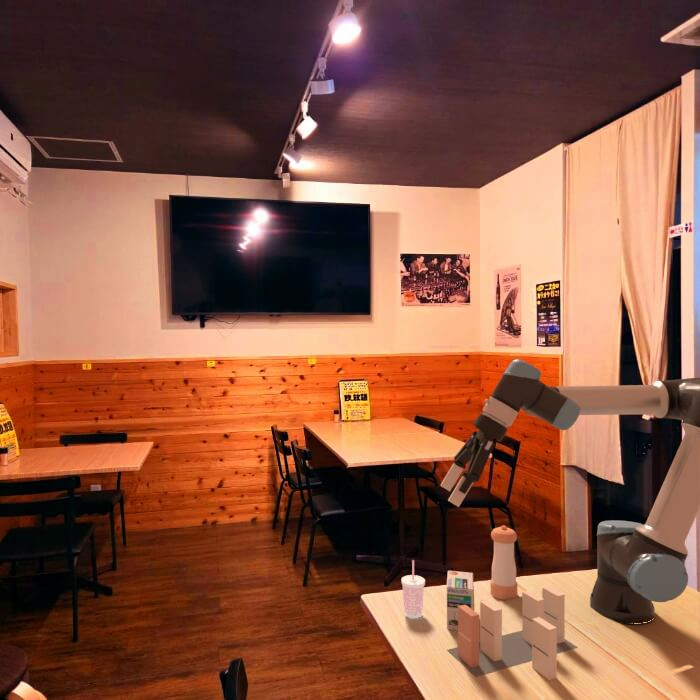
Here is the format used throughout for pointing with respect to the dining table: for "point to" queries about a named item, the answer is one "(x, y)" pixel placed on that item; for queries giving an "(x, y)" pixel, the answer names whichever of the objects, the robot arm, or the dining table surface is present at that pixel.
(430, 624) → the dining table surface
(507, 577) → the salt shaker
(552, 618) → the domino
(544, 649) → the loose domino
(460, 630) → the domino
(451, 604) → the light bulb box
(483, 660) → the slate mat
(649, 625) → the dining table surface
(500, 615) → the domino
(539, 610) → the domino
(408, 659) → the dining table surface
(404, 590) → the beverage cup
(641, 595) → the robot arm
